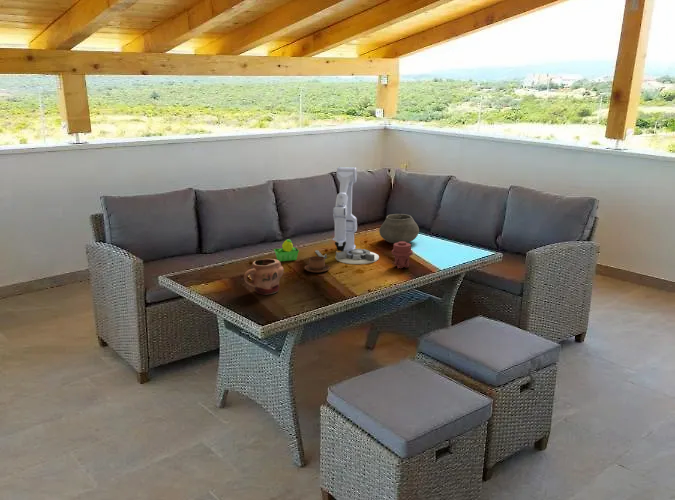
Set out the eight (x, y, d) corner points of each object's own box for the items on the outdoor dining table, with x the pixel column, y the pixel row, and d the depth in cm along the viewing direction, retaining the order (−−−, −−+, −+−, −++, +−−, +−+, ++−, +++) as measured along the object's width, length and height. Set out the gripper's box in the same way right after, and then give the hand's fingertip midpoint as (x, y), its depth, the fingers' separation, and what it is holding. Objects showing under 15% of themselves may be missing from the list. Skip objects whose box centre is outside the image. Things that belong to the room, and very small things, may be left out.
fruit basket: (295, 256, 313) (295, 235, 310) (300, 261, 305) (299, 239, 302) (274, 258, 309) (273, 237, 306) (277, 263, 301) (277, 241, 298)
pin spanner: (315, 252, 321) (315, 248, 320) (321, 251, 322) (321, 247, 321) (320, 259, 308) (320, 254, 308) (326, 258, 309) (326, 254, 309)
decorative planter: (256, 302, 248) (254, 269, 244) (237, 295, 256) (235, 264, 252) (291, 289, 262) (290, 258, 259) (271, 284, 270) (270, 254, 266)
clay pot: (407, 249, 324) (407, 222, 320) (372, 244, 335) (372, 217, 331) (424, 240, 341) (425, 214, 337) (391, 236, 352) (391, 210, 348)
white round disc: (338, 251, 321) (338, 244, 320) (380, 252, 318) (380, 245, 317) (332, 263, 300) (332, 256, 299) (377, 264, 297) (377, 257, 296)
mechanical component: (391, 263, 299) (411, 264, 298) (391, 269, 289) (412, 270, 288) (391, 239, 296) (412, 239, 295) (391, 244, 286) (413, 245, 285)
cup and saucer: (299, 270, 289) (299, 258, 288) (317, 265, 298) (317, 253, 296) (316, 276, 281) (316, 263, 280) (335, 270, 289) (334, 258, 288)
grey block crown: (337, 252, 316) (337, 244, 315) (370, 252, 315) (370, 245, 314) (335, 259, 303) (335, 251, 302) (369, 259, 302) (369, 251, 301)
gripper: (332, 226, 310) (332, 252, 314) (332, 233, 296) (332, 260, 300) (346, 226, 310) (346, 251, 314) (346, 233, 296) (346, 260, 300)
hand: (340, 256), depth 307 cm, fingers closed, pressing on grey block crown
